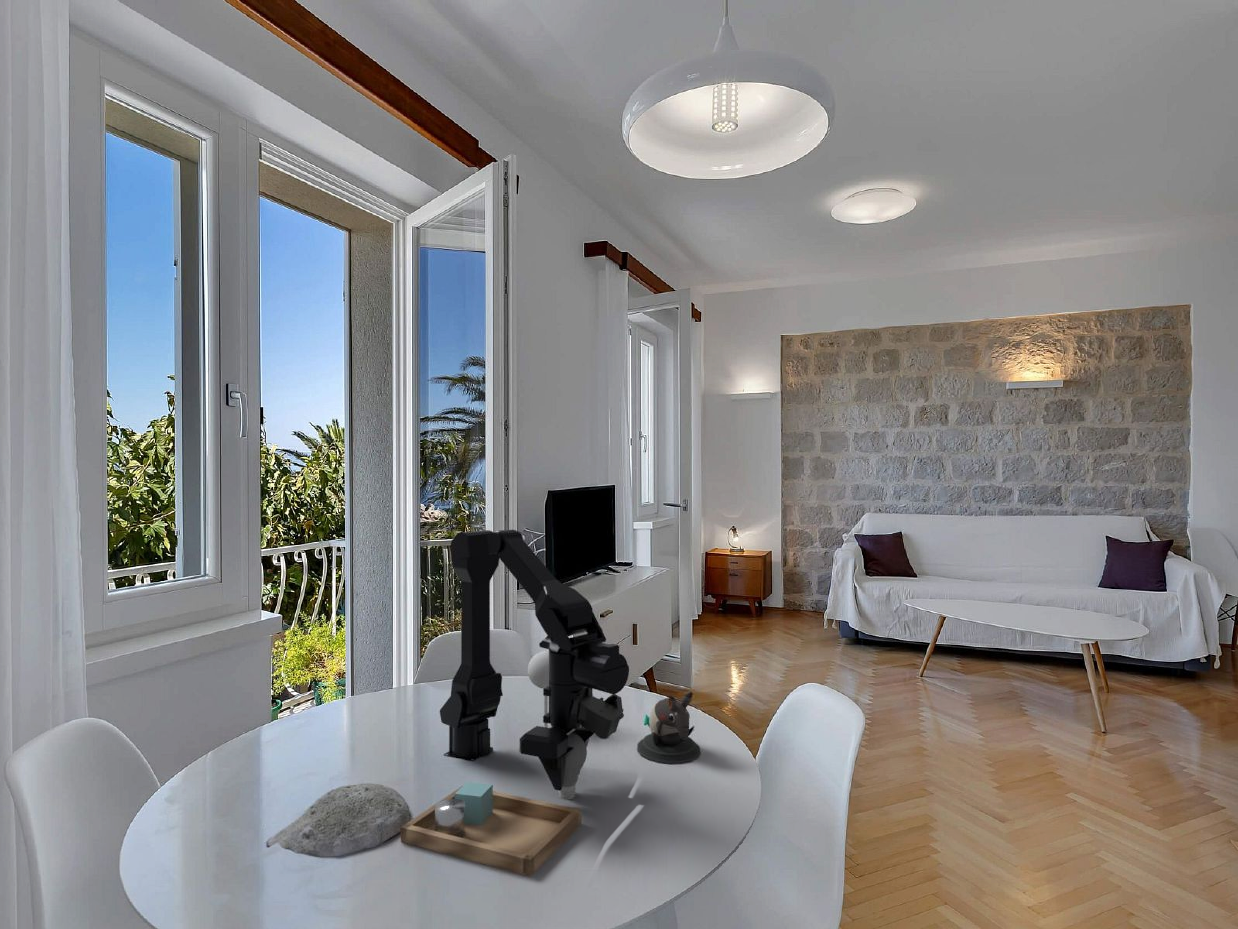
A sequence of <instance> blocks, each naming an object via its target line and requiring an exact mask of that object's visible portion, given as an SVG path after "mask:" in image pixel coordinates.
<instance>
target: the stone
mask: <svg viewBox="0 0 1238 929" xmlns="http://www.w3.org/2000/svg"><path fill="white" fill-rule="evenodd" d="M410 811H411V810H410V806H409V804H408V803H407V802H406V800H405V797H403V796H402V795H401V794H400V793H399V792H398V791H397V790H396V789H394V788H393V787H389V786H384V785H383V784H379V783H369V782H368V783H359V784H352V785H351V784H348V785H342V786H338V787H336V788H334V789H332V790H329V791H328V792H326V793H324V794H323V795H322V796H320V797H318V798H317V799H316V800H315V801H314V802H313V803H312V804H311V805H310V806H308V808H307V809H305V811H304V812H303V813H301V815H299V816H298V818H297V819H295V820H293V821H292V822H291V823H290V824H288V825H287V826H285V827H284V828H282V829H281V830H280V831H278V832H276V833H275V834H274V835H273V836H270V837H269V838H268V839H267V841H266V842H265V844H266V846H267V847H268V848H271V847H272V846H274V845H276V844H278V845H280V847H281V848H283V849H284V850H288V851H289V850H290V851H292V852H293V853H295V854H303V855H307V856H314V857H321V858H322V857H340V856H344V855H349V854H352V853H357V852H360V851H363V850H367V849H371V848H373V847H377V846H379V845H381V844H383V843H385V842H386V841H388V840H390V839H391V838H392V837H395V836H396V835H397V834H398V835H399V834H401V827H402V826H403V825H405V824H406V823H408V822H409V821H411V820H412V817H411V816H410Z"/></svg>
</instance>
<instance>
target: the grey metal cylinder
mask: <svg viewBox="0 0 1238 929" xmlns="http://www.w3.org/2000/svg"><path fill="white" fill-rule="evenodd" d="M440 801H441V800H440ZM438 802H439V801H438ZM438 802H436V803H437V804H436V803H435V804H436V806H435V831H437V832H441V833H445V834H448V835H452V836H456V837H460V838H463V837H464V835H465V802H464V801H462V800H460V799H447V800H443V801H441V802H439V803H438Z"/></svg>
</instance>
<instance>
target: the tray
mask: <svg viewBox="0 0 1238 929" xmlns="http://www.w3.org/2000/svg"><path fill="white" fill-rule="evenodd" d="M461 787H462V786H460V787H459V788H457V789H456V790H454V791H453V792H451V793H450V794H448V795H447V796H445V797H444V798H442V799H440V800H439V801H438V802H436V803H435V804H433V805H432V806H430V807H429V808H427V809H426V810H424V811H423V812H421V813H420V814H418V815H416V816H415V817H414V818H413V819H412V820H411V821H409V822H408V823H406V824H405V825H403V826H402V827H401V832H400V843H404V844H408V845H411V846H415V847H419V848H423V849H427V850H429V851H434V852H437V853H441V854H445V855H449V856H452V857H456V858H460V859H463V860H467V861H471V862H475V863H478V864H483V865H487V866H490V867H494V868H497V869H501V870H505V871H509V872H512V873H517V874H521V875H524V876H527V877H531V876H532V875H533V874H534V873H535V872H536V871H537V870H538V869H539V868H540V867H541V866H542V865H543V864H544V862H546V861H547V860H548V859H549V858H550V856H552V855H553V854H554V853H555V852H556V850H558V849H559V848H560V846H561V845H562V844H563V843H564V842H565V841H566V840H567V839H569V837H570V836H571V835H572V834H574V832H576V831H577V829H578V828H579V827H580V826H581V825H582V815H583V814H582V809H580V808H579V809H578V808H574V807H569V806H565V805H561V804H560V805H559V804H556V803H551V802H546V801H540V800H538V799H537V800H536V799H532V798H529V797H528V798H527V797H522V796H519V795H514V794H513V795H512V794H510V793H509V794H508V793H503V792H499V791H494V790H493V812H492V813H491V815H490V816H489V817H488V818H487V819H486V820H485V821H484V822H483V824H482V825H473V824H465V835H464V837H463V838H460V837H456V836H452V835H448V834H445V833H441V832H437V831H435V806H436V804H437V803H439V802H441V801H443V800H447V799H455V793H456V792H457V791H458V790H459V789H460V788H461Z"/></svg>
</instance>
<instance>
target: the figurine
mask: <svg viewBox="0 0 1238 929" xmlns="http://www.w3.org/2000/svg"><path fill="white" fill-rule="evenodd" d="M693 694H694V693H693V692H691V691H688V692H687V693H686V694H685V695H683V697H682V698H681V700H678V699H677V698H675V697H674V696H672V695H671V694H670V695H668V697H666V698H664V699H661V700H659V701H658V702H656V703H655V705H654V706H653V707H652V709H651V712H650V714H649V716H648V714H645V715H644V721H643V725H644V726H648V728H649V729H650V732H651V733H649V734H646V735H645V736H644V737H643V738H641V739H640V740H639V742H637V748H636V751H637V752H638V754H639V755H640V756H641V757H642V758H644V759H646V760H647V761H650V762H654V763H655V764H656V763H657V764H661V765H662V764H663V765H664V764H665V765H682V764H687V763H691V762H694V761H695V760H698V758H699V757H700V756H701V753H702V751H701V747H700V745H699V744H698V743H697V742H695V741H694V740H693V739H692V737H689V736H690V735H691V734H692V733H693V731H694V730H695V729H694V728H695V727H696V725H693V726H692V727H690V717H691V716H690V713H689V711H688V709H687V708H688V706H689V705H690V703H691V701H692V699H693Z"/></svg>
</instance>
